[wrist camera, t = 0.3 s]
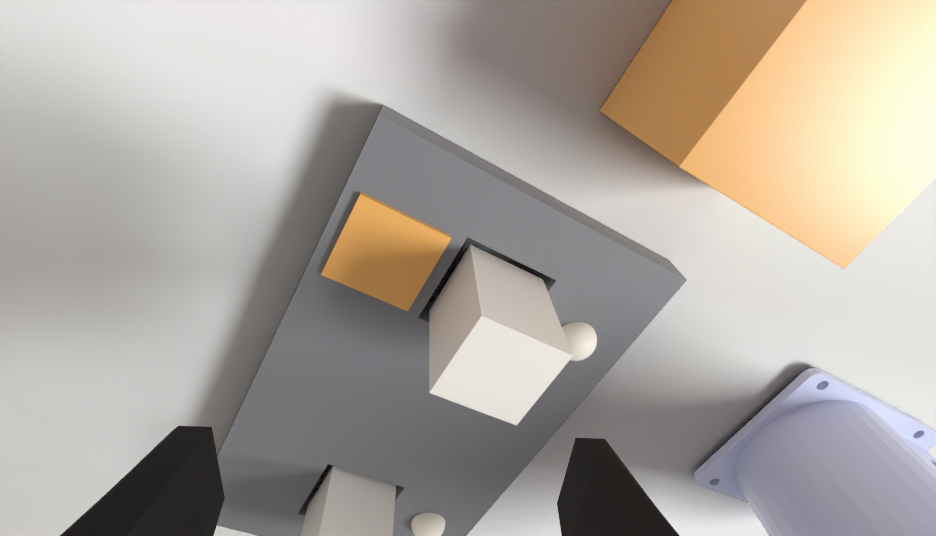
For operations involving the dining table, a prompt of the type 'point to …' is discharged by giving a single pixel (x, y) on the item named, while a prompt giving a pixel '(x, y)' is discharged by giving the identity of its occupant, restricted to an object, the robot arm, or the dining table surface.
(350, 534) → the untagged breaker
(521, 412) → the white rectangular block
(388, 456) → the panel
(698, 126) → the orange cube
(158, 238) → the dining table surface
